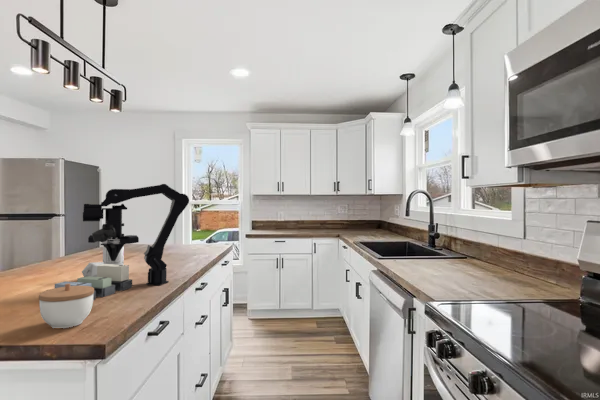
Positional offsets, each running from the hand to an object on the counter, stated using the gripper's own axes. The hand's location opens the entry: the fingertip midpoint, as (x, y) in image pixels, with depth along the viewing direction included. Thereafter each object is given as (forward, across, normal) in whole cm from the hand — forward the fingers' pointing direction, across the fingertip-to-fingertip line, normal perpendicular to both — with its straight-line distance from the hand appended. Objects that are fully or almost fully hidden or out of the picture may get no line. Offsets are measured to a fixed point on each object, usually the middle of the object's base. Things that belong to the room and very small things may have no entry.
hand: (113, 261), depth 135 cm
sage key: (+10, 0, -9) cm, 14 cm away
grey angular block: (+11, -15, +7) cm, 20 cm away
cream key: (+7, 0, 0) cm, 7 cm away
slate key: (+10, 0, -18) cm, 21 cm away
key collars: (+10, 0, -9) cm, 14 cm away
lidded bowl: (+11, +18, -37) cm, 43 cm away
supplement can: (+11, -14, +16) cm, 24 cm away
